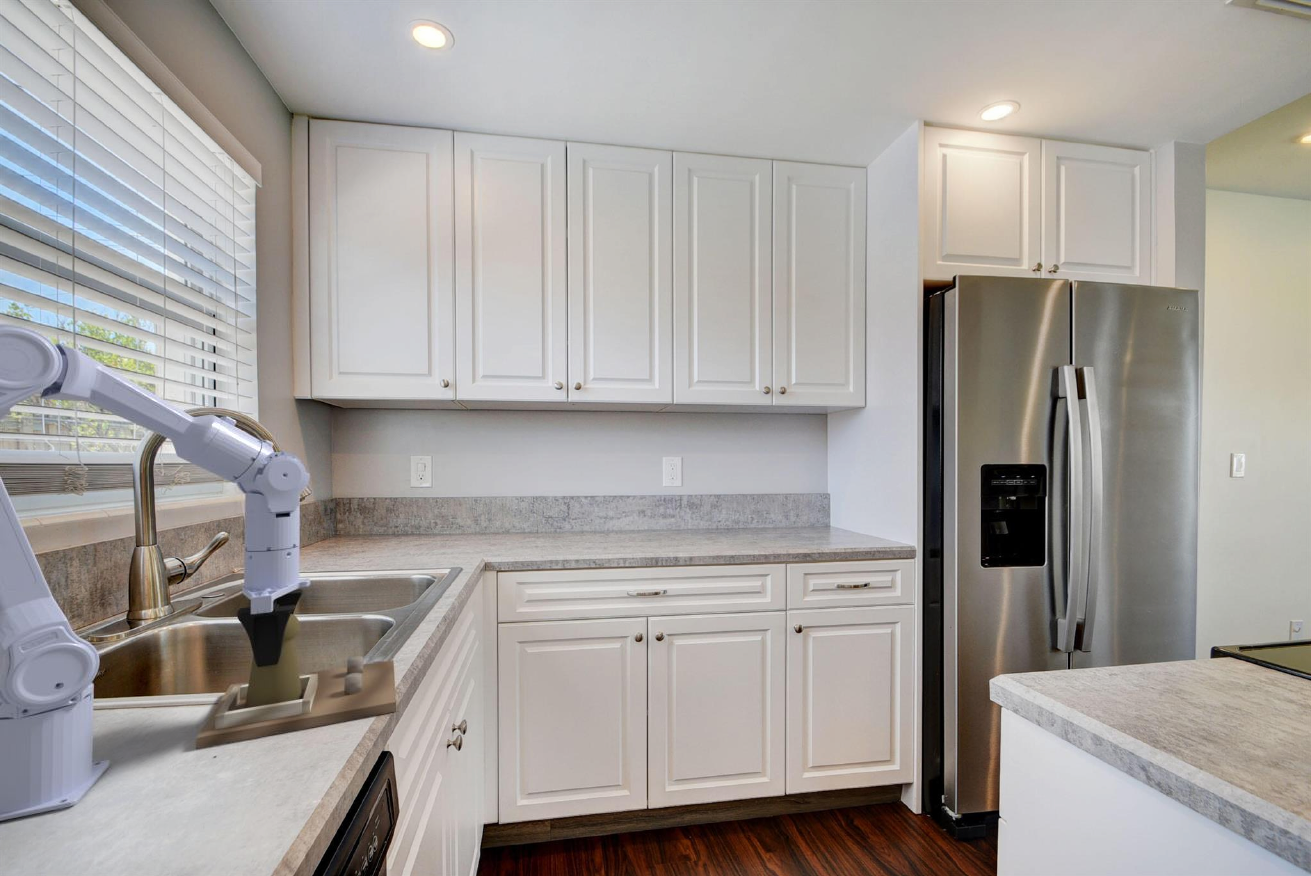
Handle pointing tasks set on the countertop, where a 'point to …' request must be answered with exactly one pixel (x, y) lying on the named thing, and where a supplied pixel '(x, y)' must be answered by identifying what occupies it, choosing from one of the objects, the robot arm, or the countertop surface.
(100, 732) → the countertop surface
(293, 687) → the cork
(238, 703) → the board
